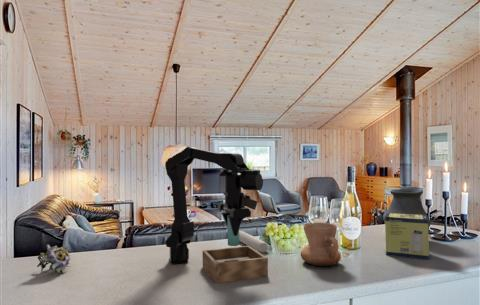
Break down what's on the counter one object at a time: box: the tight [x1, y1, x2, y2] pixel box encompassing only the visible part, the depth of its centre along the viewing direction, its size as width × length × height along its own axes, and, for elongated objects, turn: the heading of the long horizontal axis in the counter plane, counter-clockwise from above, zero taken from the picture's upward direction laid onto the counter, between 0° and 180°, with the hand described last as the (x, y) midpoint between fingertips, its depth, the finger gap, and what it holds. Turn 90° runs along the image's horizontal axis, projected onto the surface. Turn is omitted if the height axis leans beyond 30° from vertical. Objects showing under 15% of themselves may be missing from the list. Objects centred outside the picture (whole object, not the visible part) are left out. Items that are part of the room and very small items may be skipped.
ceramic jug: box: [300, 221, 342, 267], centre depth 125 cm, size 18×14×14 cm
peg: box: [227, 215, 240, 247], centre depth 117 cm, size 4×4×10 cm
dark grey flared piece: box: [382, 185, 432, 230], centre depth 160 cm, size 21×22×25 cm
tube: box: [239, 229, 269, 254], centre depth 150 cm, size 5×5×25 cm
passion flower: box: [36, 244, 71, 275], centre depth 117 cm, size 11×11×12 cm
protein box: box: [384, 213, 430, 261], centre depth 137 cm, size 10×16×16 cm
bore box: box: [202, 245, 269, 284], centre depth 117 cm, size 18×17×6 cm
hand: (233, 234), depth 117 cm, fingers closed on peg, 4 cm apart
